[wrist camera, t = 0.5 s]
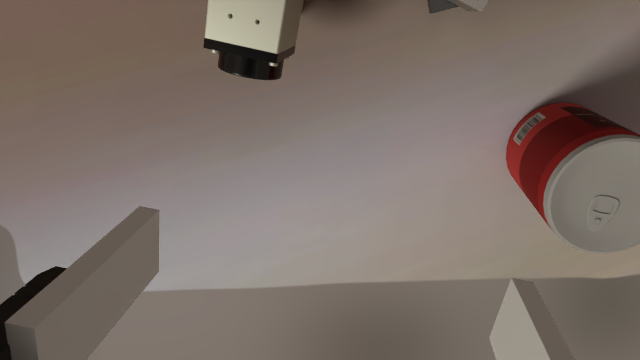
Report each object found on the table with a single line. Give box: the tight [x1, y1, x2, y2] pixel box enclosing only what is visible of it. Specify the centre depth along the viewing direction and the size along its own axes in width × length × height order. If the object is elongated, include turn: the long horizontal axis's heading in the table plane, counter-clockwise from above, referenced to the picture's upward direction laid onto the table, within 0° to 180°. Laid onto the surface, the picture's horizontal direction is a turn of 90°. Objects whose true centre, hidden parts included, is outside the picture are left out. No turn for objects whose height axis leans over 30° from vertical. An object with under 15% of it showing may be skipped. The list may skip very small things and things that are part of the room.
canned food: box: [506, 103, 640, 253], centre depth 33 cm, size 8×8×11 cm
